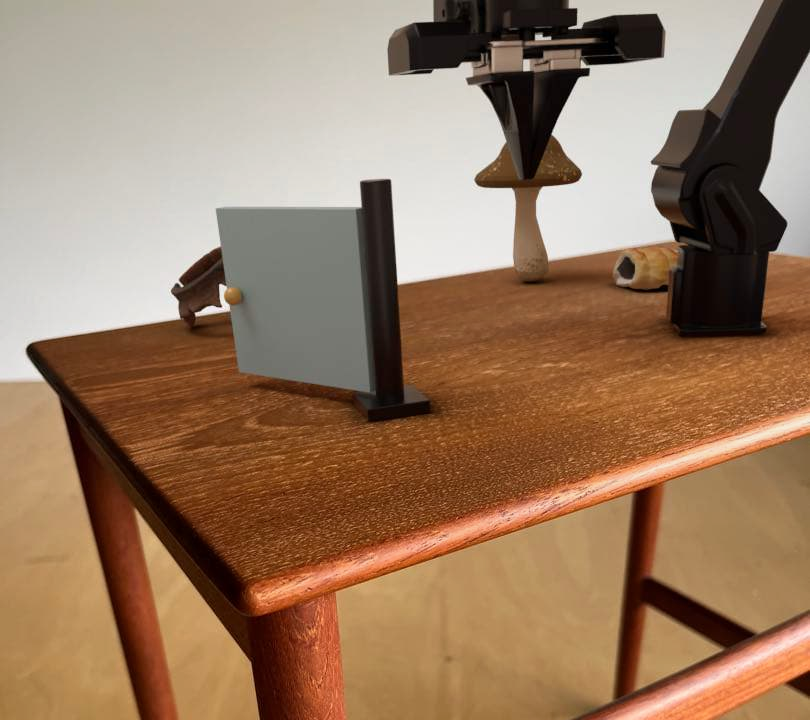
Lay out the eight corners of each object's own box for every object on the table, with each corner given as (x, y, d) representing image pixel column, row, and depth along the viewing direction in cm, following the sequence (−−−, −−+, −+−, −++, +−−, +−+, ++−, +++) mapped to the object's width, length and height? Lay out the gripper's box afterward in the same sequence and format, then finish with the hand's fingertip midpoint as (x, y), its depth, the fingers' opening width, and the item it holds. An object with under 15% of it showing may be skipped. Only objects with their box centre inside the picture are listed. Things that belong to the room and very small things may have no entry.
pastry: (688, 275, 92) (691, 237, 91) (725, 285, 87) (729, 244, 85) (606, 284, 91) (608, 245, 89) (638, 295, 85) (640, 253, 83)
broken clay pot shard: (289, 338, 79) (231, 260, 74) (208, 384, 82) (148, 312, 78) (307, 280, 88) (257, 209, 83) (234, 324, 91) (181, 257, 87)
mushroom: (500, 272, 101) (498, 129, 95) (594, 276, 95) (598, 123, 89) (459, 286, 94) (454, 133, 88) (558, 291, 89) (560, 127, 82)
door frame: (430, 412, 55) (419, 178, 49) (368, 421, 54) (349, 184, 48) (411, 396, 58) (399, 176, 52) (353, 404, 57) (333, 181, 51)
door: (379, 389, 56) (366, 207, 52) (358, 398, 55) (342, 211, 50) (248, 369, 63) (226, 206, 58) (226, 376, 62) (201, 210, 57)
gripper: (596, -54, 67) (589, 167, 74) (360, -50, 63) (375, 184, 70) (677, -87, 58) (661, 171, 64) (405, -85, 53) (418, 192, 60)
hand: (526, 179), depth 65 cm, fingers closed
